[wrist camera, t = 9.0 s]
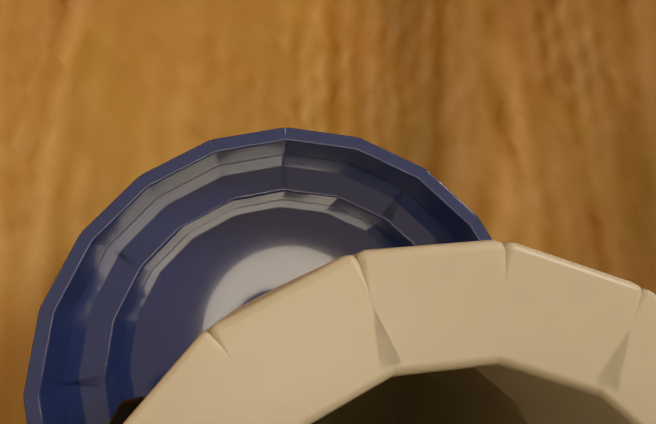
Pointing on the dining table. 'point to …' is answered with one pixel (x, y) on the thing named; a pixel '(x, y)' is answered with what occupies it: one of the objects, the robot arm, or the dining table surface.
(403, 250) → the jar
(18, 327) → the dining table surface
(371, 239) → the bowl
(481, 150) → the dining table surface
